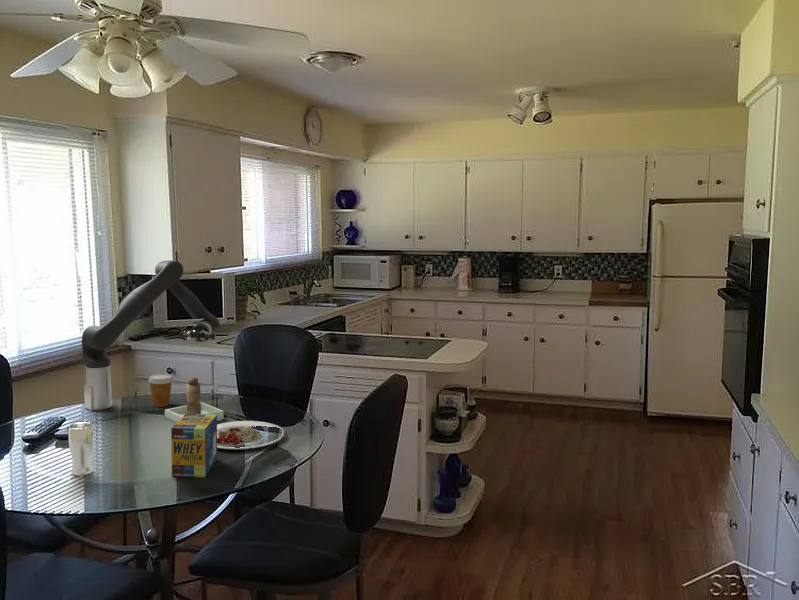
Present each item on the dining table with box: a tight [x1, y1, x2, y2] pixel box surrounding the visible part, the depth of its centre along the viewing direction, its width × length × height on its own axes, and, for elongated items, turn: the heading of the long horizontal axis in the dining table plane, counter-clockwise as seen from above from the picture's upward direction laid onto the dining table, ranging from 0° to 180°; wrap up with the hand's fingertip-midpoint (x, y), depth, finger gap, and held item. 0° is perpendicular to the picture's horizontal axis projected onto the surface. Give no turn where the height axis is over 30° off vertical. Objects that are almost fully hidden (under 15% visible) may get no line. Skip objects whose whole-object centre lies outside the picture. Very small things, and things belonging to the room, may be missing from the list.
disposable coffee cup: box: [148, 373, 174, 408], centre depth 282 cm, size 10×10×12 cm
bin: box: [164, 401, 224, 424], centre depth 265 cm, size 16×16×4 cm
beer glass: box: [68, 421, 95, 477], centre depth 209 cm, size 7×7×15 cm
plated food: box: [217, 420, 285, 450], centre depth 245 cm, size 30×30×3 cm
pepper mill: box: [185, 377, 202, 414], centre depth 264 cm, size 5×5×15 cm
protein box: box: [170, 414, 218, 478], centre depth 215 cm, size 10×15×16 cm
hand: (194, 338), depth 281 cm, fingers open, 8 cm apart
